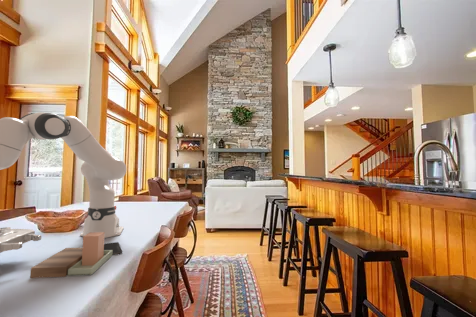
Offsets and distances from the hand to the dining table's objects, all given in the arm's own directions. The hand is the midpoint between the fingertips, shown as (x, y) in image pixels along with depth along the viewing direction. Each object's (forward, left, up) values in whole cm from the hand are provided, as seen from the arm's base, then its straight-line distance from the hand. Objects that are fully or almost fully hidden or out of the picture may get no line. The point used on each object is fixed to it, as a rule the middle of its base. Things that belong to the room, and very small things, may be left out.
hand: (30, 241), depth 83 cm
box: (0, +20, -8) cm, 22 cm away
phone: (-15, +21, -9) cm, 27 cm away
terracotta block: (0, +20, -8) cm, 22 cm away
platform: (0, +12, -8) cm, 14 cm away
